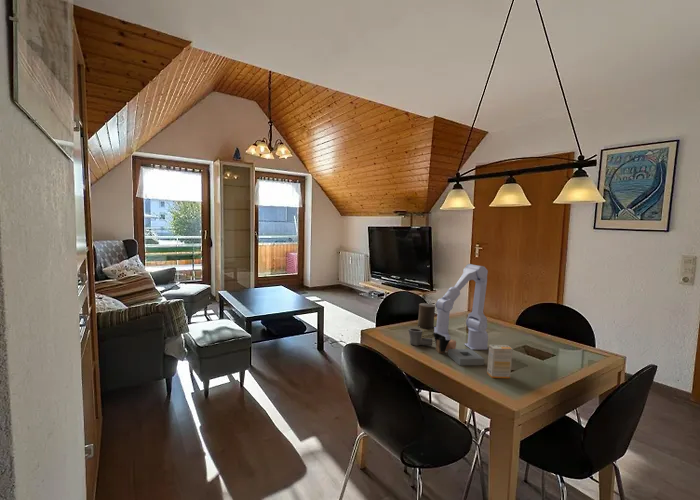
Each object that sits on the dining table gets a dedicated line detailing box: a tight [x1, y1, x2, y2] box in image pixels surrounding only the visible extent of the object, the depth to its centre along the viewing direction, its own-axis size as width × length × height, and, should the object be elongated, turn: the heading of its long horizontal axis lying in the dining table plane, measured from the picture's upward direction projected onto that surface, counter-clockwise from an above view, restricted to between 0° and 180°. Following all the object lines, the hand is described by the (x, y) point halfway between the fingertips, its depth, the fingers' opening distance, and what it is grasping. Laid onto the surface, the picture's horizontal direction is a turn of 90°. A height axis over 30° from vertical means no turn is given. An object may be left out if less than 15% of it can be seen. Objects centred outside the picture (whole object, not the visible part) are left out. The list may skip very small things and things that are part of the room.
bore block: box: [447, 348, 485, 367], centre depth 160 cm, size 12×12×3 cm
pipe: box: [408, 327, 433, 347], centre depth 176 cm, size 6×13×8 cm, turn 78°
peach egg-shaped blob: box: [445, 338, 457, 353], centre depth 171 cm, size 6×6×5 cm
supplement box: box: [486, 344, 514, 379], centre depth 144 cm, size 8×5×13 cm, turn 92°
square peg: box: [435, 339, 446, 354], centre depth 168 cm, size 3×3×6 cm
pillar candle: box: [417, 302, 436, 330], centre depth 209 cm, size 10×10×15 cm
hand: (440, 349), depth 168 cm, fingers open, 4 cm apart
